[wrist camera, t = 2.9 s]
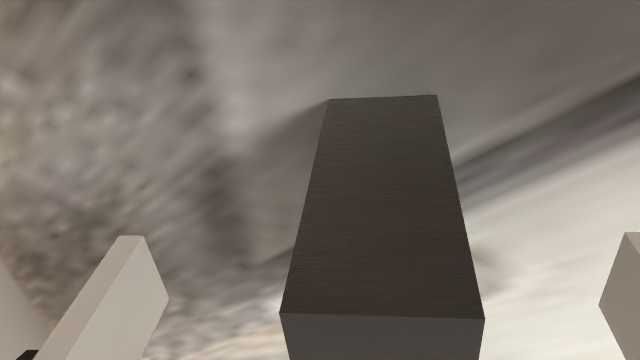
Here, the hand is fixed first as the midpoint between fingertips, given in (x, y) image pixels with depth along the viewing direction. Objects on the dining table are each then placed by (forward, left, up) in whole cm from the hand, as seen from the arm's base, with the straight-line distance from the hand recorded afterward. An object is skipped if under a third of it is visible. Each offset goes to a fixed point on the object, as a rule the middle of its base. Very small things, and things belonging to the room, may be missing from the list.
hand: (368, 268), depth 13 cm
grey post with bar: (+8, 0, -7) cm, 10 cm away
